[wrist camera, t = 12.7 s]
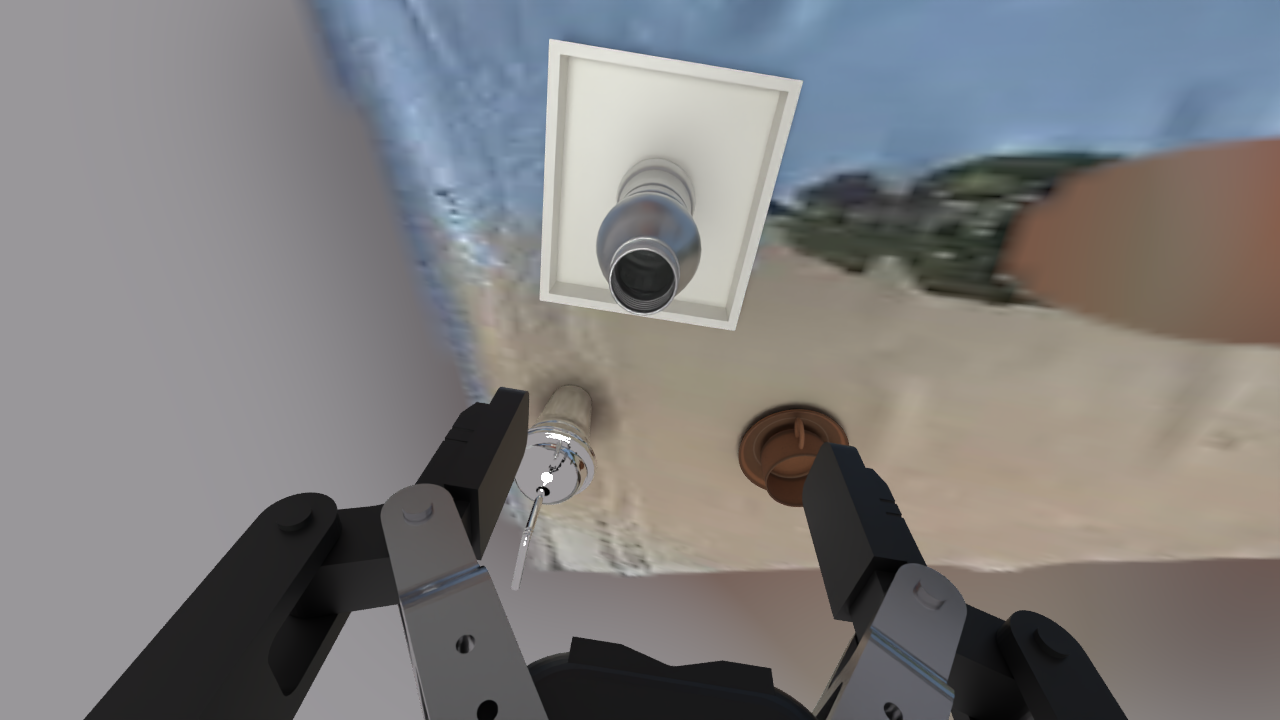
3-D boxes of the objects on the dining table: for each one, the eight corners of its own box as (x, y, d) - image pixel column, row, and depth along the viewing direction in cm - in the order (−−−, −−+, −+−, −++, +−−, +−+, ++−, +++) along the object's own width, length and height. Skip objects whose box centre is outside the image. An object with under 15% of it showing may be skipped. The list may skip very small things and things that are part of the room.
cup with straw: (625, 401, 54) (600, 553, 37) (575, 445, 58) (533, 602, 41) (564, 355, 52) (507, 496, 34) (517, 405, 55) (445, 554, 38)
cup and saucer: (721, 421, 55) (726, 458, 49) (828, 386, 52) (846, 422, 46) (756, 492, 60) (763, 533, 55) (855, 465, 57) (873, 505, 51)
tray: (561, 42, 37) (549, 38, 34) (791, 80, 37) (803, 80, 34) (549, 283, 47) (539, 300, 44) (730, 312, 48) (734, 330, 44)
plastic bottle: (695, 152, 40) (709, 211, 22) (694, 234, 43) (705, 340, 26) (616, 155, 40) (571, 216, 23) (622, 236, 44) (586, 342, 26)
